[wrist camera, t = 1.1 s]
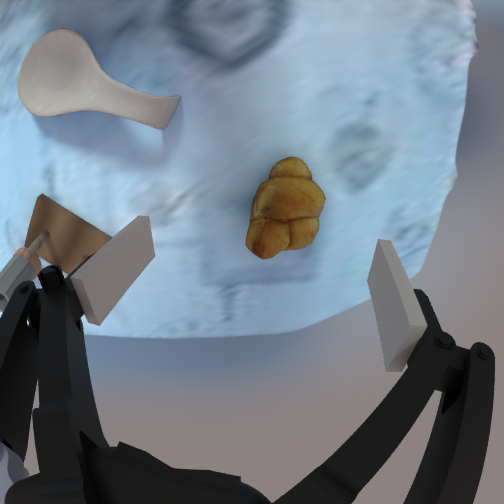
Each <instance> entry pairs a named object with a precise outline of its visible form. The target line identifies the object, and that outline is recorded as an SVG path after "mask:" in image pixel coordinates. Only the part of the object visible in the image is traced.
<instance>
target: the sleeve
mask: <svg viewBox="0 0 504 504" xmlns="http://www.w3.org/2000/svg"><path fill="white" fill-rule="evenodd" d="M27 249H28V248H26V247H24V248H20V249H18V250H17V252H16V253H15V254H14V255H13V257H12V259H11V260H10V261H9V262H8V263H7V265H6V266H5V267H4V268H3V270H2V271H1V272H0V311H1V312H2V313H3V312H4V310H5V307H6V305H7V303H8V301H9V299H10V298H11V296H12V294H13V292H14V290H15V288H16V287H17V286H18V285H19V284H20V283H21V282H23V281H28V280H30V281H33V279H35V278H36V276H37V275H38V273H39V271H40V267H41V262H40V260H39V258H38V256H37V254H35V255H34V256H33V257H32V258H31V259H30V260H26V259H25V257H24V252H25V251H26V250H27Z"/></svg>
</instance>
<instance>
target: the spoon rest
mask: <svg viewBox="0 0 504 504" xmlns="http://www.w3.org/2000/svg"><path fill="white" fill-rule="evenodd" d="M18 94H19V98H20V100H21V102H22V104H23V106H24V107H25V108H26V109H27V110H28V111H29V112H30V113H32V114H34V115H36V116H40V117H53V116H58V115H63V114H67V113H71V112H77V111H99V112H104V113H108V114H111V115H115V116H119V117H123V118H126V119H130V120H133V121H136V122H139V123H142V124H145V125H148V126H151V127H153V128H156V129H160V130H164V129H165V128H166V126H167V124H168V123H169V121H170V119H171V117H172V115H173V113H174V111H175V109H176V107H177V105H178V103H179V101H180V98H181V97H180V96H179V95H175V96H171V97H161V96H155V95H151V94H147V93H144V92H141V91H138V90H136V89H133V88H131V87H128V86H126V85H124V84H122V83H120V82H118V81H116V80H114V79H113V78H111V77H110V76H108V75H107V74H106V73H105V72H104V71H103V70H102V68H101V67H100V65H99V63H98V61H97V59H96V57H95V55H94V53H93V51H92V49H91V48H90V46H89V44H88V43H87V42H86V40H85V39H84V38H83V37H82V36H81V35H80V34H78V33H77V32H75V31H73V30H70V29H64V28H62V29H56V30H53V31H50V32H48V33H46V34H45V35H43V36H42V37H40V38H39V39H38V40H37V41H36V42H35V43H34V44H33V45H32V46H31V48H30V49H29V51H28V52H27V54H26V56H25V58H24V60H23V63H22V65H21V68H20V71H19V76H18Z"/></svg>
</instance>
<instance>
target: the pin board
mask: <svg viewBox="0 0 504 504" xmlns="http://www.w3.org/2000/svg"><path fill="white" fill-rule="evenodd" d="M112 238H113V237H111V236H109V235H108V234H106V233H104V232H103V231H101V230H99V229H98V228H96V227H94V226H93V225H91V224H89V223H88V222H86V221H85V220H83V219H81V218H80V217H78V216H77V215H75V214H73V213H72V212H70V211H69V210H67V209H66V208H64V207H62V206H61V205H59V204H58V203H56V202H55V201H53V200H52V199H50V198H49V197H47V196H46V195H44V194H41V195H40V196H38V197H37V200H36V204H35V207H34V210H33V214H32V217H31V221H30V225H29V229H28V233H27V237H26V241H25V247H26V248H28V249H27V250H26V251H25V252H24V257H25V259H26V260H30V259H31V258H32V257H33V256H34V255H35V254H37V255H38V256H40V257H41V258H43V259H44V260H46V261H47V262H49V263H51V264H52V265H59V266H60V267H61V270H62V271H63V272H65V273H67V274H68V275H69V274H70V273H71V272H72V271H73V270H74V269H76V268H77V267H78V266H79V265H80V264H81V263H83V261H84V260H85V259H86V258H87V257H88V256H90V255H92V254H94V253H96V252H97V251H98V250H99V249H101V248H102V247H103V246H104V245H105V244H106V243H107V242H108V241H110V240H111V239H112Z"/></svg>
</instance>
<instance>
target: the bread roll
mask: <svg viewBox="0 0 504 504" xmlns="http://www.w3.org/2000/svg"><path fill="white" fill-rule="evenodd" d="M325 199H326V198H325V195H324V193H323V191H322V190H321V188H320V187H319V186H318V185H317V184H316V183H315V182H314V181H312V174H311V171H309V169H308V167H307V165H306V164H305V163H304V162H303V160H301V159H299V158H296V157H288V158H285V159H283V160H281V161H279V162H278V163H277V164H276V165H275V166H274V167H273V169H272V170H271V172H270V175H269V178H268V180H266V181H264V182H262V183H261V185H260V186H259V188H258V190H257V192H256V194H255V197H254V200H253V204H252V211H251V217H250V225H249V228H248V232H247V237H246V246H247V248H248V249H249V250H250V251H251V252H252V253H253V254H255V255H256V256H258V257H259V258H261V259H269V258H272V257H274V256H275V255H276V254H278V253H279V252H281V251H283V250H297V249H302V248H304V247H306V246H307V245H308V244H310V243H312V242H313V240H314V238H315V236H316V234H317V232H318V230H319V220H318V216H320V214H321V212H322V210H323V208H324V203H325Z"/></svg>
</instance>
